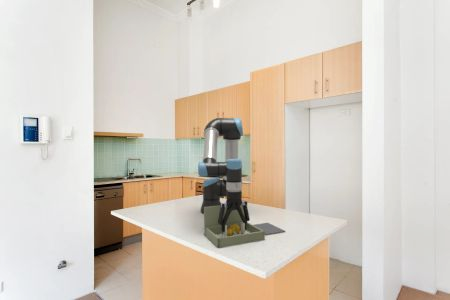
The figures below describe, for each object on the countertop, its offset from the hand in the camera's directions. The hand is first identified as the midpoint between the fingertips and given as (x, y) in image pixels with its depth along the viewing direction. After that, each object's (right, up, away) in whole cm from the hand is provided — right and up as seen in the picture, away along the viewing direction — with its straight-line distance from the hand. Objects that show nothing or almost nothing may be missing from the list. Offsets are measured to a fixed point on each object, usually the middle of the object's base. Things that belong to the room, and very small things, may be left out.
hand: (233, 237), depth 119 cm
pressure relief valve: (+2, -1, 0) cm, 2 cm away
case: (0, 0, 0) cm, 0 cm away
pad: (+18, 0, +13) cm, 23 cm away
